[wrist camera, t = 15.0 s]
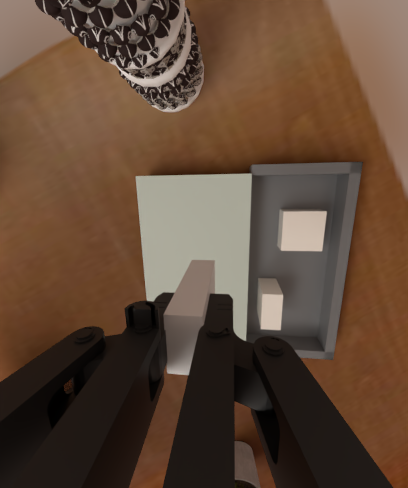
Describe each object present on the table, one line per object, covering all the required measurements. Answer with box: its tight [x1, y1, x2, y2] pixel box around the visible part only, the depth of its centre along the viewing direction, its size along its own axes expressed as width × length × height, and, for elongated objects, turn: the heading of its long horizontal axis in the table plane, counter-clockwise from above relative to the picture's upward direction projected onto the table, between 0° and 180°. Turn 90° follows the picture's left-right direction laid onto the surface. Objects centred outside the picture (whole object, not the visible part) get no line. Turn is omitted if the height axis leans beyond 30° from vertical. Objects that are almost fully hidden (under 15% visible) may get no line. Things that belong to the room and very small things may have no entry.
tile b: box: [277, 209, 327, 251], centre depth 30 cm, size 5×5×2 cm
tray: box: [246, 162, 363, 360], centre depth 31 cm, size 26×12×4 cm, turn 1°
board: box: [136, 174, 252, 341], centre depth 32 cm, size 24×14×4 cm, turn 1°
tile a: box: [257, 278, 283, 330], centre depth 31 cm, size 5×5×2 cm
